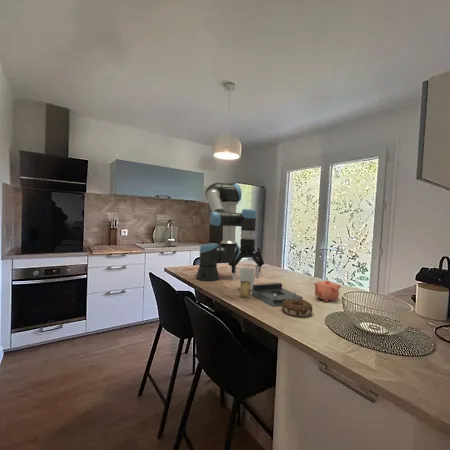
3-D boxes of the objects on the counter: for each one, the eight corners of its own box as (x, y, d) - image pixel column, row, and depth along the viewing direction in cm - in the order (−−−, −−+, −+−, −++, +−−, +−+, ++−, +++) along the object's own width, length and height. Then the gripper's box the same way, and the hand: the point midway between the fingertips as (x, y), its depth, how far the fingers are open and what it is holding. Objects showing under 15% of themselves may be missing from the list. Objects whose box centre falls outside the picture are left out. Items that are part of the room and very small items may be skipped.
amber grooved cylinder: (238, 296, 142) (239, 281, 142) (246, 295, 144) (247, 280, 144) (242, 299, 138) (243, 283, 137) (251, 298, 140) (252, 283, 140)
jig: (251, 294, 146) (252, 284, 146) (279, 291, 154) (279, 282, 154) (272, 306, 128) (273, 295, 128) (302, 303, 136) (303, 292, 135)
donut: (318, 315, 120) (319, 304, 120) (297, 320, 113) (298, 308, 113) (295, 305, 132) (295, 295, 132) (274, 309, 125) (274, 298, 125)
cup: (253, 292, 151) (254, 271, 150) (237, 290, 153) (238, 269, 152) (254, 288, 160) (255, 268, 159) (239, 286, 162) (240, 267, 161)
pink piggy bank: (317, 294, 153) (318, 276, 152) (340, 298, 147) (341, 280, 146) (311, 300, 141) (312, 281, 140) (335, 305, 134) (337, 285, 134)
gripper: (229, 239, 131) (227, 281, 132) (271, 239, 142) (269, 278, 142) (223, 237, 138) (221, 278, 139) (264, 238, 149) (262, 275, 149)
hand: (246, 278), depth 140 cm, fingers open, 13 cm apart
